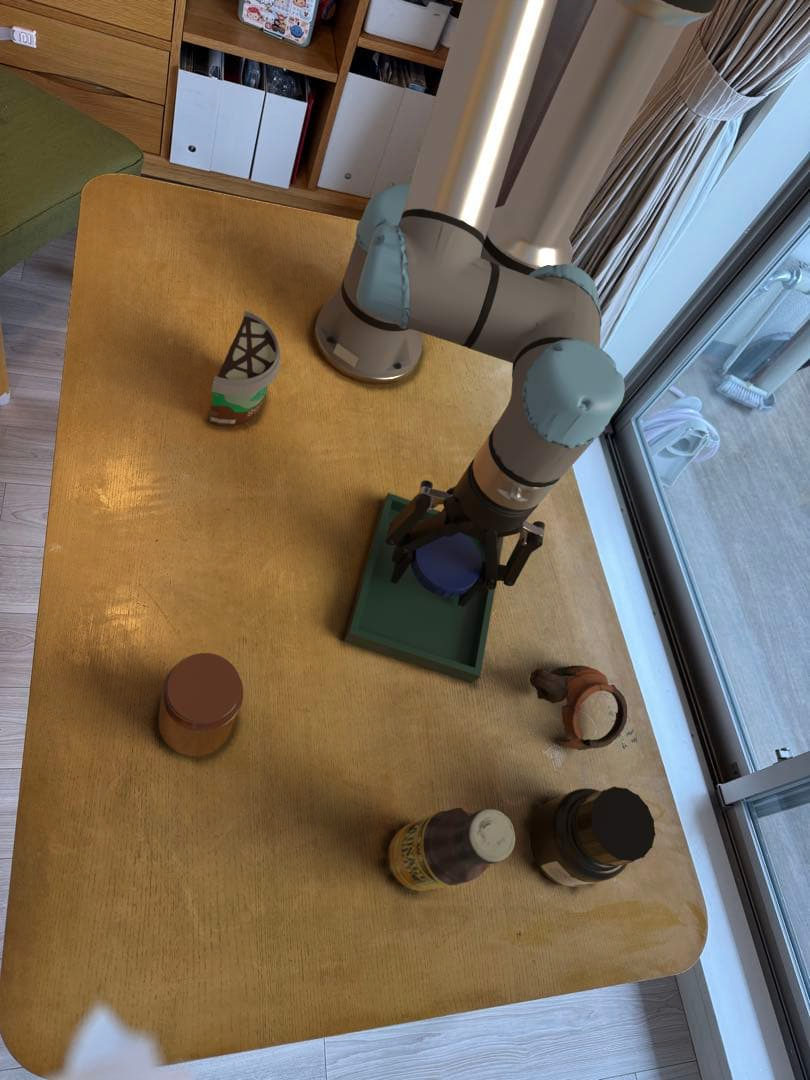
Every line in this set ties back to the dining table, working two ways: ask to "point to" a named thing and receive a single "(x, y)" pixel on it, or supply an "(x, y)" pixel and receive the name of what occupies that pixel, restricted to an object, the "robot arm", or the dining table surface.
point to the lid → (447, 565)
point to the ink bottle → (590, 835)
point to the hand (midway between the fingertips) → (429, 584)
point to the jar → (199, 704)
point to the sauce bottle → (449, 848)
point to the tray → (417, 611)
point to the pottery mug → (578, 701)
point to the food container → (245, 373)
